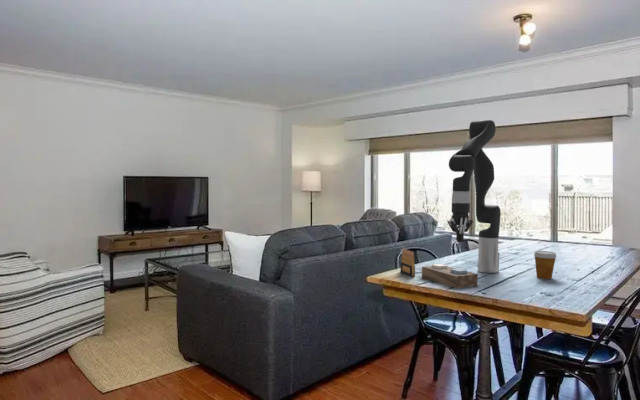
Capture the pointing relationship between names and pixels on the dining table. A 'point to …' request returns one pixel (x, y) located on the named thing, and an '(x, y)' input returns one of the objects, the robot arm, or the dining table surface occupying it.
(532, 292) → the dining table surface
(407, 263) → the wooden panel with frame
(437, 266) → the cream key
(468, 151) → the robot arm
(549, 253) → the disposable coffee cup
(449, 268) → the key panel
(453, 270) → the slate key
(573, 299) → the dining table surface
